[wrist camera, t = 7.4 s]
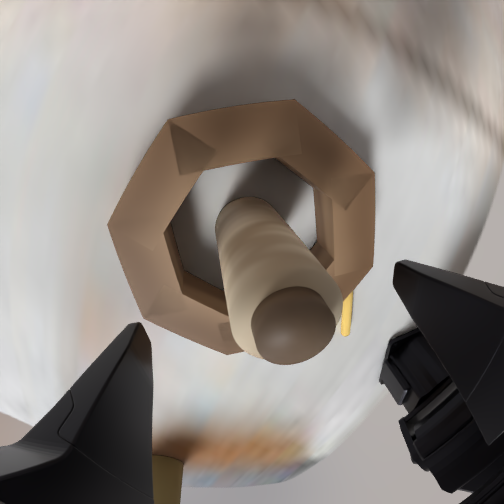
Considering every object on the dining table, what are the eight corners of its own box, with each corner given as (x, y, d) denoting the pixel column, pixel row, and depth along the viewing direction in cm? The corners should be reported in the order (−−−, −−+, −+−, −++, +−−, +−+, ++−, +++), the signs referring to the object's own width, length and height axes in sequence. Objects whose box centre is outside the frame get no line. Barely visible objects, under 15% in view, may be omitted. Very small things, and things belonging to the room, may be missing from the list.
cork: (188, 470, 28) (195, 539, 18) (146, 470, 27) (148, 536, 18) (176, 454, 26) (182, 534, 16) (129, 454, 25) (128, 530, 15)
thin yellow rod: (351, 241, 17) (356, 245, 16) (347, 331, 20) (351, 336, 20) (341, 243, 17) (346, 248, 16) (339, 333, 20) (342, 339, 20)
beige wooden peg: (275, 191, 15) (357, 268, 7) (282, 250, 17) (349, 358, 9) (209, 204, 15) (221, 300, 7) (222, 263, 16) (245, 387, 8)
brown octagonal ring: (344, 100, 13) (368, 97, 11) (351, 296, 19) (368, 316, 17) (103, 141, 12) (86, 144, 10) (168, 338, 18) (166, 365, 16)
